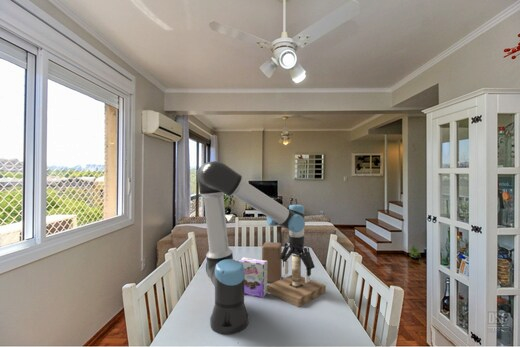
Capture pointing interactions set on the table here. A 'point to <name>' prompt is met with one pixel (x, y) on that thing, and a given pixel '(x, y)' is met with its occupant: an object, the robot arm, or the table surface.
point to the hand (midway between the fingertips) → (296, 277)
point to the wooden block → (272, 260)
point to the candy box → (255, 277)
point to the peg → (296, 271)
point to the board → (296, 290)
